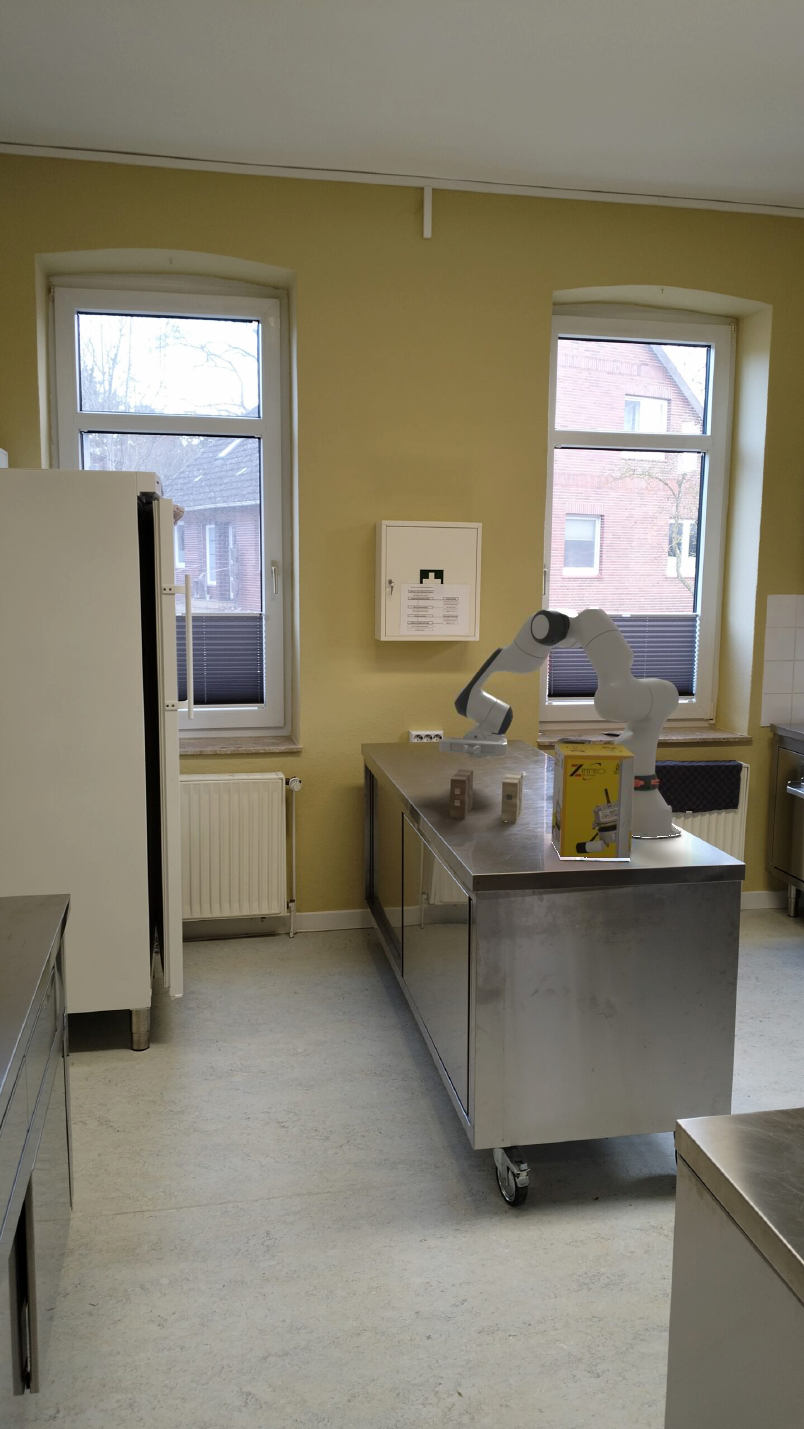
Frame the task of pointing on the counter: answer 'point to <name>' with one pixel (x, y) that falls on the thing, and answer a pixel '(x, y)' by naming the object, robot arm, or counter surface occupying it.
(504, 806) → the maple tile one
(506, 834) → the counter surface
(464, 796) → the walnut tile two
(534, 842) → the counter surface
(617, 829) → the packaging box
